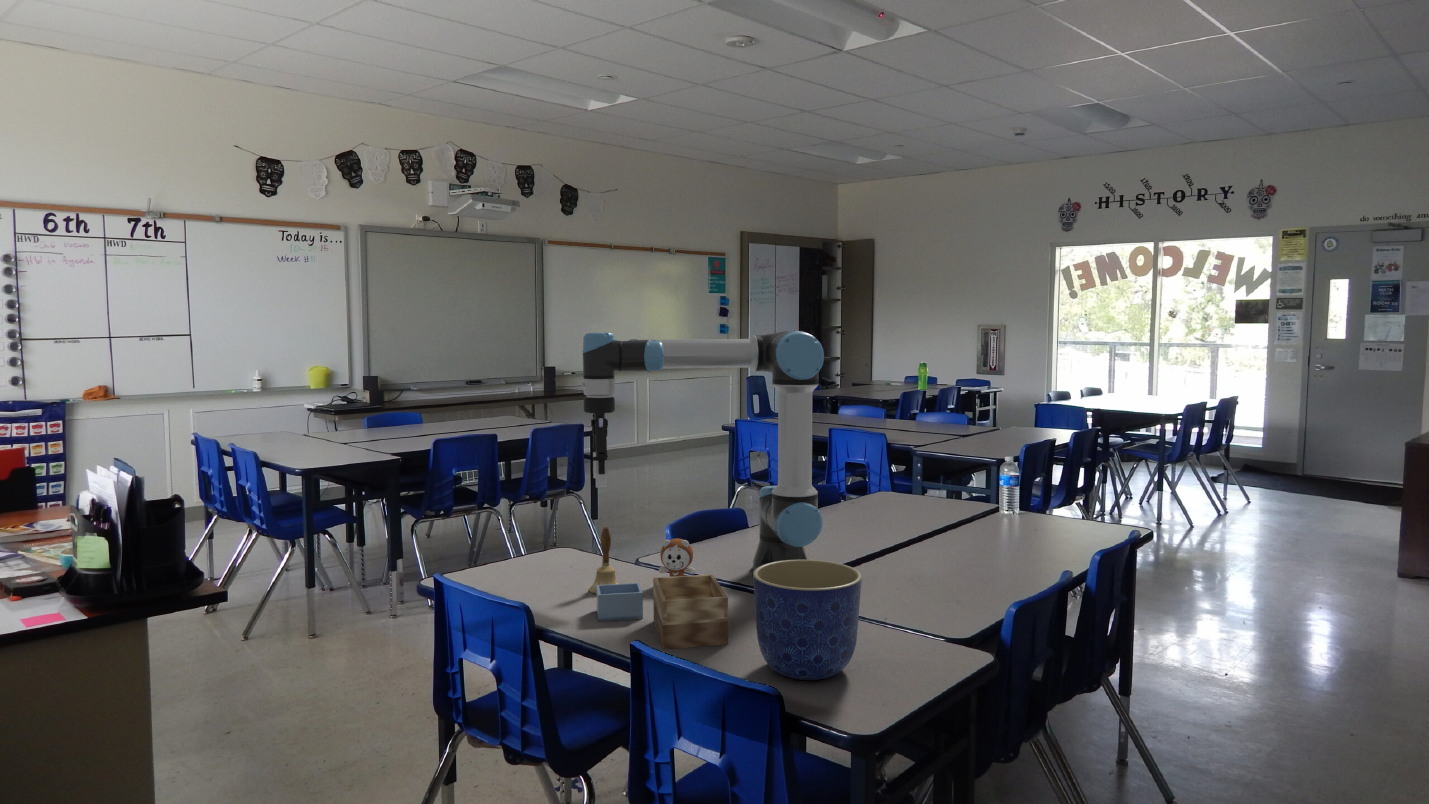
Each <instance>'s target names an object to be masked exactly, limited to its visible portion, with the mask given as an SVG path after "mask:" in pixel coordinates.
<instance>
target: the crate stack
mask: <svg viewBox="0 0 1429 804" xmlns="http://www.w3.org/2000/svg"><path fill="white" fill-rule="evenodd" d="M652 581H653V584H652V585H653V586H652V587H653V591H652V592H653V593H652V594H653V599H652V600H653V603H652V604H653V623H654V626H655V629H656V633H657V635H658V638H659V640H660V641H659V642H660V644H661V646H662V649H663V650H665V649H666V650H670V649H683V648H685V649H686V648H697V647H699V648H700V647H714V646H727V645H729V597H728V595H727V594H726V592H725V591H724V589H723V587H722V586H721V585H720V582H719V581H718V580H717V578H716V577H715V575H714V574H699V575H694V574H693V575H684V576H675V577H669V576H659V577H657V576H656V577H653V578H652Z"/></svg>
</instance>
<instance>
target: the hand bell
mask: <svg viewBox="0 0 1429 804" xmlns="http://www.w3.org/2000/svg"><path fill="white" fill-rule="evenodd" d="M611 545H612V536H611V533H610V529H609V527H606V526H605V527H603V528H602V532H601V535H600V547H601V550H602V563H601V564H602V565H601V566H600V567H598V568H597V569H596V573H595V574H596V575H595V579H594V581H593V583H592V585H591V586H590V587H589V588H588V590H589V592H590V593H592V594H596V595H597V589H596V585H608V584H619V582H618V580H617V577H616V571H615V568H614V567H612V566H610V549H611Z"/></svg>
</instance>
